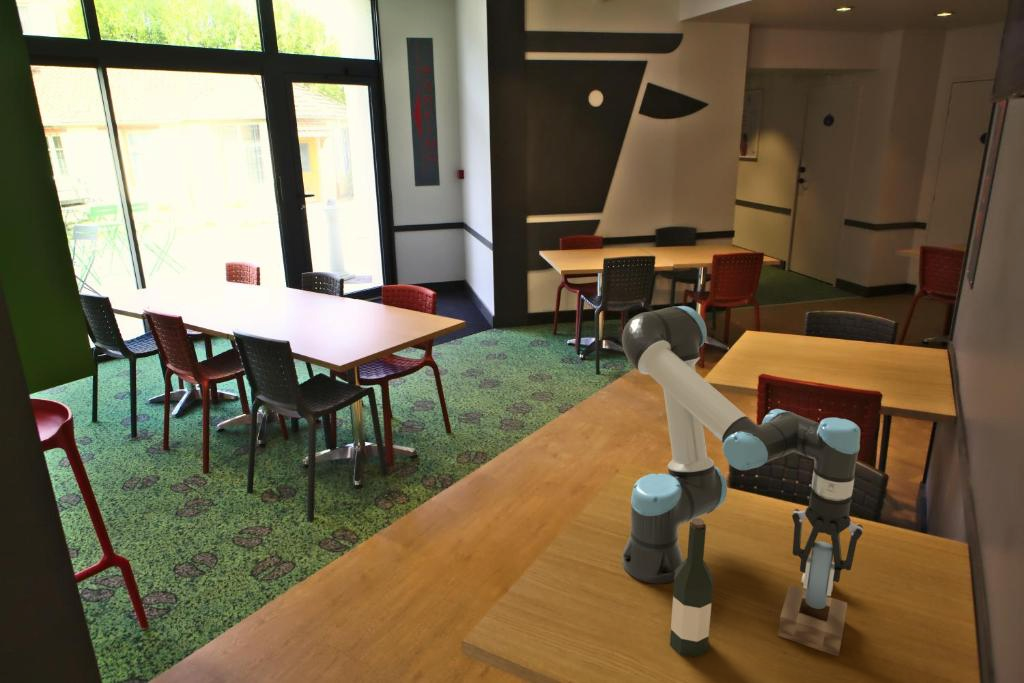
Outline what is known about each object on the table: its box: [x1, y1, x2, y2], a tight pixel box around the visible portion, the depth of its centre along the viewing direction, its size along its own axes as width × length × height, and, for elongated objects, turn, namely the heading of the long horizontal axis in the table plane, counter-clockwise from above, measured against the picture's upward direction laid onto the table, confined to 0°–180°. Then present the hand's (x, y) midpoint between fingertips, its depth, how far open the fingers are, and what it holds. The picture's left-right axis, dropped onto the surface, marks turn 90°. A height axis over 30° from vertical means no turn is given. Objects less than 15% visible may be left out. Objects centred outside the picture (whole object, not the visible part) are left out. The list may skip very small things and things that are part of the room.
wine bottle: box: [669, 517, 714, 659], centre depth 135 cm, size 8×8×30 cm
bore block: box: [777, 585, 848, 657], centre depth 142 cm, size 12×12×5 cm
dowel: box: [805, 541, 834, 609], centre depth 139 cm, size 4×4×14 cm
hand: (817, 588), depth 140 cm, fingers closed on dowel, 4 cm apart
